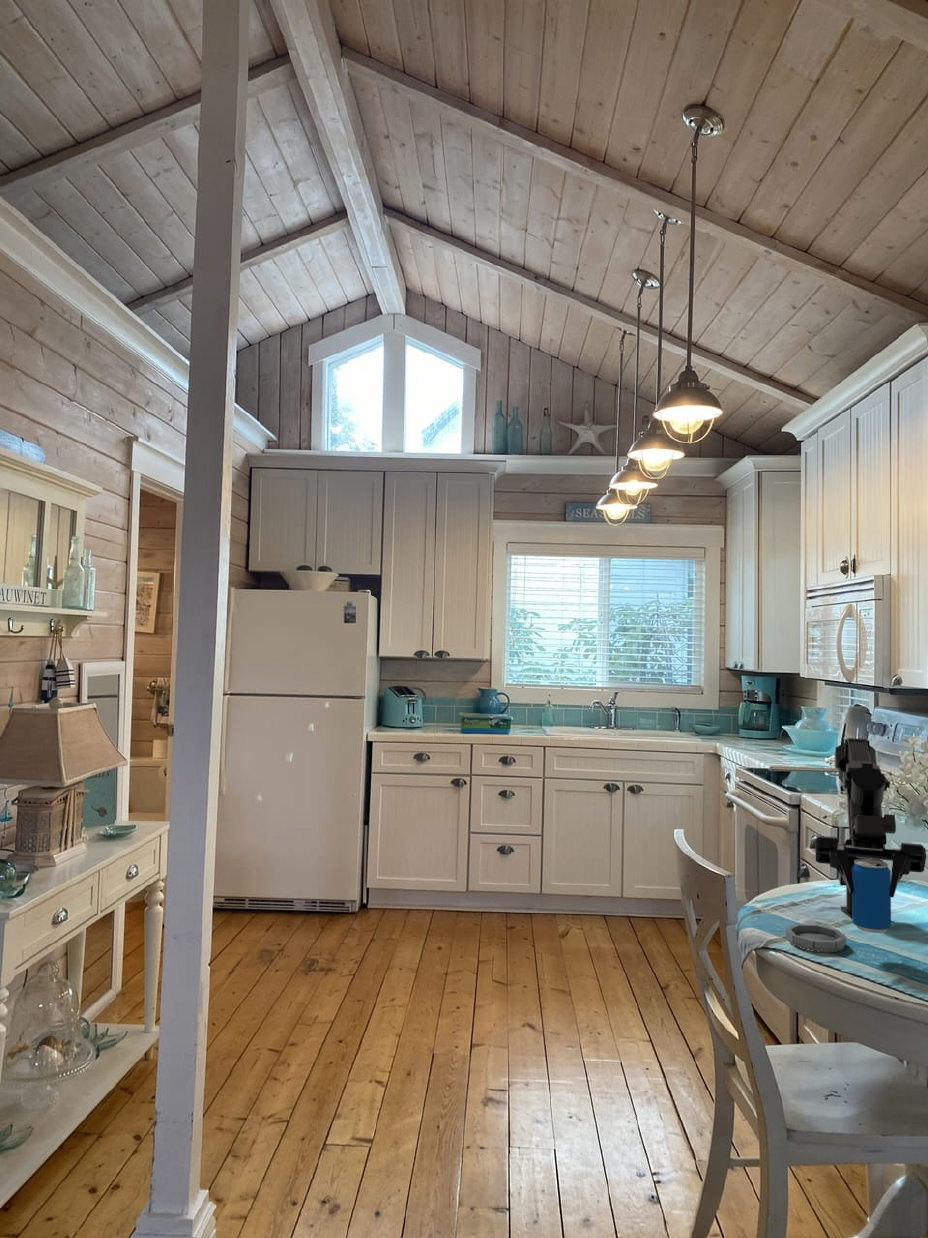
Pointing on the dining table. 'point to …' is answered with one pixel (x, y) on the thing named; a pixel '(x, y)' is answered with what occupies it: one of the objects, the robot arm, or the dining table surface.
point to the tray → (816, 937)
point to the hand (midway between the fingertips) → (871, 894)
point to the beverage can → (871, 895)
